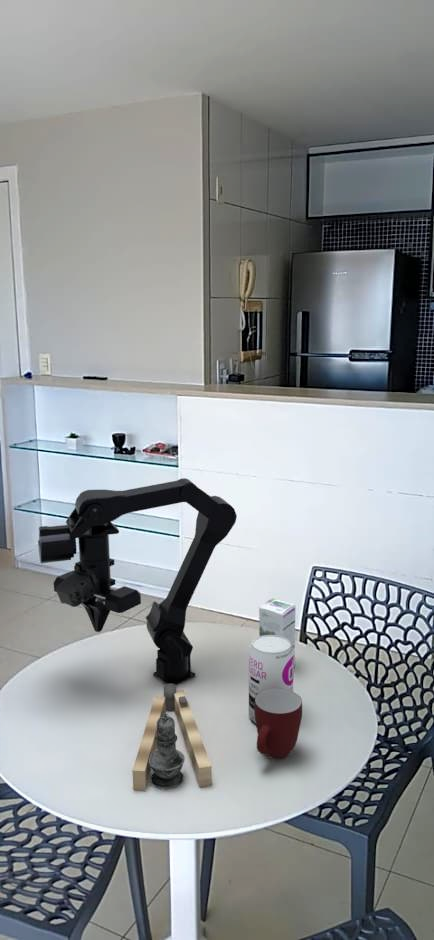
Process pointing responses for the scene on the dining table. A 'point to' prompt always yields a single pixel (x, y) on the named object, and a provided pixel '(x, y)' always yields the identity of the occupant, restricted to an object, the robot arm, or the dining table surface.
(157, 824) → the dining table surface
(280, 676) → the supplement can
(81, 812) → the dining table surface
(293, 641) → the syrup box
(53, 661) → the dining table surface
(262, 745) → the mug
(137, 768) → the tongs jaw
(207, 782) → the tongs fixed arm
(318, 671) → the dining table surface
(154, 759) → the salt shaker
